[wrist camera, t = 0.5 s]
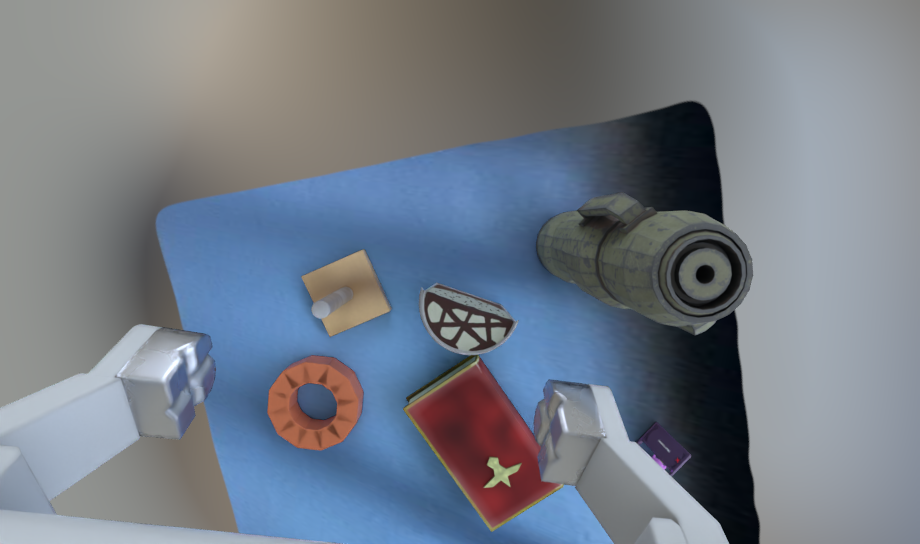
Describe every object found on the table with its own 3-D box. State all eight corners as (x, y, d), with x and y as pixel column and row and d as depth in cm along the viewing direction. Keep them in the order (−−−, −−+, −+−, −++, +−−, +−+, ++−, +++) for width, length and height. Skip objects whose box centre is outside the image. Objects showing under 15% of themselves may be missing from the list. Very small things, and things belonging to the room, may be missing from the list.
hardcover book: (477, 350, 63) (478, 360, 59) (559, 469, 65) (566, 486, 61) (406, 397, 64) (402, 410, 60) (489, 513, 66) (491, 533, 61)
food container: (412, 320, 63) (402, 339, 53) (426, 279, 62) (419, 290, 52) (496, 349, 63) (503, 373, 53) (511, 307, 62) (520, 324, 52)
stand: (392, 309, 62) (374, 330, 50) (332, 334, 63) (301, 362, 50) (364, 249, 62) (340, 255, 49) (304, 275, 62) (265, 288, 50)
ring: (376, 418, 64) (372, 429, 61) (300, 450, 65) (291, 462, 62) (340, 342, 63) (334, 349, 60) (263, 376, 64) (252, 384, 60)
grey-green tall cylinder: (573, 298, 62) (714, 396, 27) (514, 236, 61) (583, 254, 26) (622, 254, 61) (830, 296, 27) (563, 190, 61) (699, 147, 26)
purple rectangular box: (687, 452, 57) (638, 502, 58) (707, 468, 60) (660, 517, 60) (653, 419, 64) (609, 465, 64) (673, 435, 66) (630, 479, 66)
